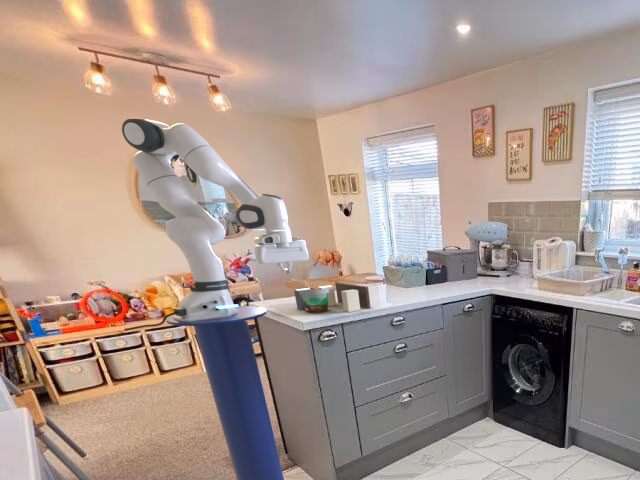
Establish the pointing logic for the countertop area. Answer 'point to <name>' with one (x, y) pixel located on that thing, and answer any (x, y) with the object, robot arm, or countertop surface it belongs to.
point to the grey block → (299, 299)
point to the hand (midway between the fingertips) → (286, 273)
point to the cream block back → (329, 294)
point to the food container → (315, 300)
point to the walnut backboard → (362, 293)
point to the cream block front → (350, 300)
